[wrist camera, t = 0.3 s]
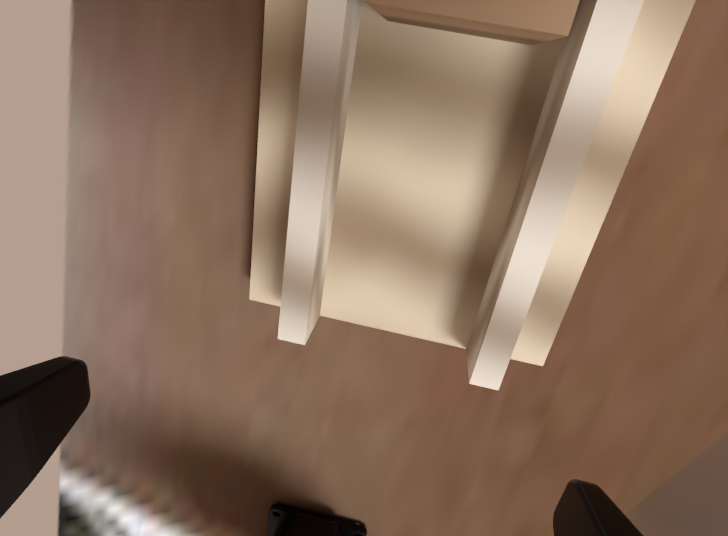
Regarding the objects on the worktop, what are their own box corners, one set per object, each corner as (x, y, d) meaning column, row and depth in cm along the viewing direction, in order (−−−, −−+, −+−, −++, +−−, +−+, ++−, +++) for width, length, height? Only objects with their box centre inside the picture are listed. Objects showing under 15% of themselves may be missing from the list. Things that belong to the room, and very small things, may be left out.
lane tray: (536, 347, 21) (555, 403, 18) (260, 285, 23) (226, 326, 19) (760, -212, 13) (882, -320, 9) (296, -266, 14) (246, -381, 10)
